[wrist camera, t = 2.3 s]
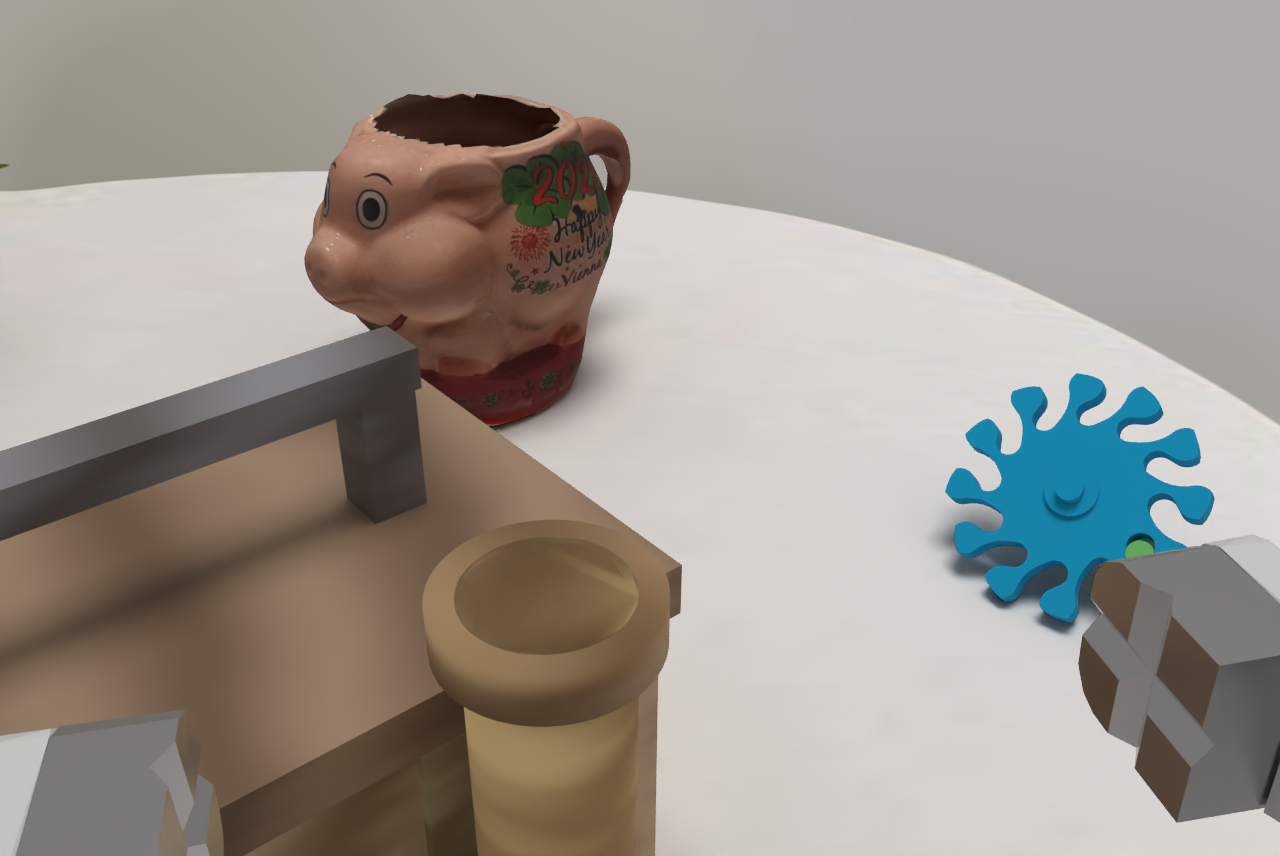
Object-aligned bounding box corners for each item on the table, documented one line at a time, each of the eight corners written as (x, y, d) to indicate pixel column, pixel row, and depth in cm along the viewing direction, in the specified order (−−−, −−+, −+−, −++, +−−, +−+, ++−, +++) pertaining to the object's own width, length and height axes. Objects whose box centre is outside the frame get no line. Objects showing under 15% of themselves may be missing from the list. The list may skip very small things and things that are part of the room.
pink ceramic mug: (534, 278, 74) (524, 46, 67) (700, 334, 68) (709, 84, 61) (271, 414, 60) (222, 140, 53) (450, 498, 54) (422, 201, 47)
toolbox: (-76, 1815, 21) (-569, 1396, 12) (-272, 955, 35) (-566, 477, 26) (832, 1017, 33) (903, 532, 25) (420, 619, 47) (375, 222, 39)
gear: (892, 516, 51) (1044, 325, 50) (933, 551, 55) (1071, 376, 55) (1121, 688, 44) (1297, 470, 44) (1144, 710, 49) (1303, 514, 49)
